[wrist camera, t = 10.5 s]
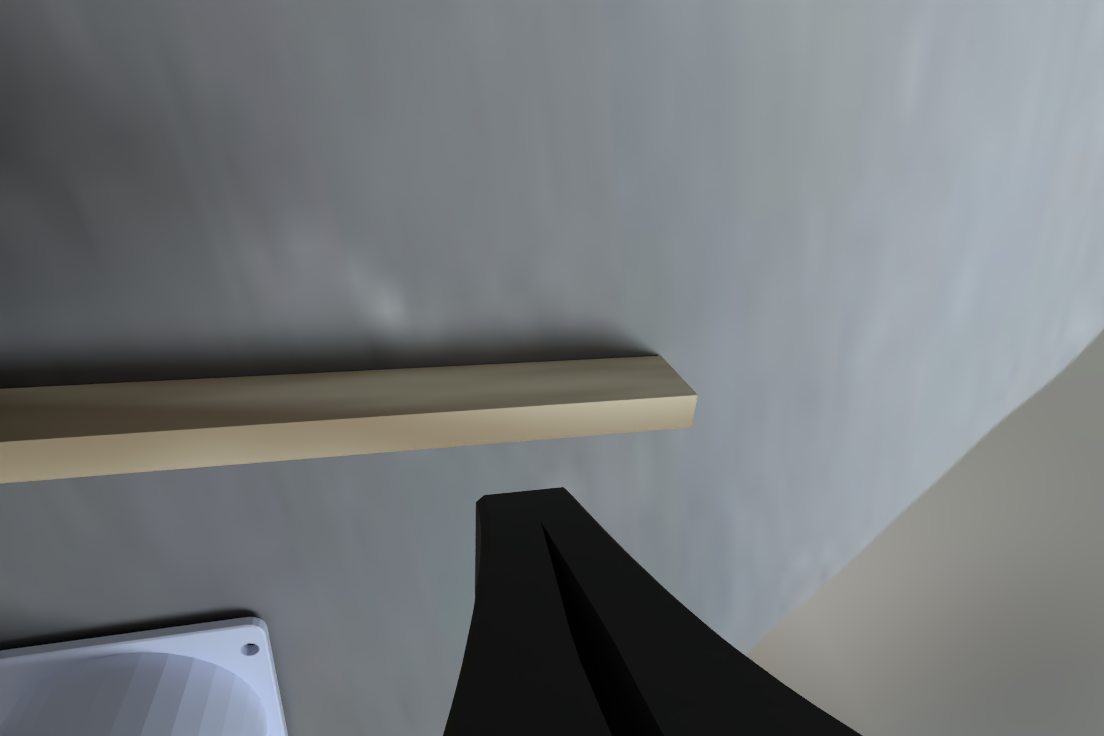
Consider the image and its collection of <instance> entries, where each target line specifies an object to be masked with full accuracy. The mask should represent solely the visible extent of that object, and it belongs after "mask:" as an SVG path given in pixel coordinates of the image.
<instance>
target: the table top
mask: <svg viewBox="0 0 1104 736" xmlns="http://www.w3.org/2000/svg"><path fill="white" fill-rule="evenodd" d="M697 396H698V395H697V394H696V393H695V392H694V391H693V390H692V388H691V387H690V386H689V385H688V384H687V383H686V382H685V381H684V380H683V379H682V378H681V377H680V376H679V375H678V374H677V372H676V371H675V370H674V369H673V368H672V367H671V366H670V365H669V364H668V363H667V362H666V361H665V360H664V359H663V358H662V356H646V357H626V358H606V359H586V360H566V361H546V362H526V363H506V364H486V365H466V366H446V367H426V368H406V369H386V370H366V371H345V372H325V373H305V374H285V375H265V376H245V377H225V378H205V379H185V380H165V381H145V382H125V383H105V384H85V385H65V386H45V387H25V388H5V389H0V483H11V482H24V481H36V480H48V479H61V478H73V477H85V476H98V475H110V474H123V473H135V472H147V471H160V470H172V469H184V468H197V467H209V466H221V465H234V464H246V463H258V462H271V461H283V460H295V459H308V458H320V457H332V456H345V455H357V454H369V453H382V452H394V451H406V450H419V449H431V448H443V447H456V446H468V445H480V444H493V443H505V442H517V441H530V440H542V439H554V438H567V437H579V436H591V435H604V434H616V433H628V432H641V431H653V430H666V429H678V428H690V427H692V423H693V418H694V412H695V407H696V402H697Z"/></svg>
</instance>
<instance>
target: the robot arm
mask: <svg viewBox="0 0 1104 736" xmlns="http://www.w3.org/2000/svg"><path fill="white" fill-rule="evenodd" d="M248 643H250V644H256V645H247V644H248ZM0 736H288V733H287V728H286V723H285V717H284V712H283V707H282V702H281V696H280V691H279V686H278V681H277V675H276V670H275V665H274V660H273V655H272V649H271V644H270V639H269V634H268V628H267V625H266V623H265V622H264V621H263V620H261V619H259V618H256V617H244V618H236V619H229V620H222V621H214V622H207V623H200V624H192V625H185V626H178V627H170V628H163V629H155V630H148V631H141V632H133V633H126V634H119V635H111V636H104V637H97V638H89V639H82V640H75V641H67V642H60V643H52V644H45V645H38V646H30V647H23V648H16V649H8V650H1V651H0ZM443 736H862V735H860V734H859V733H857V732H856V731H854V730H853V729H851V728H849V727H848V726H846V725H845V724H843V723H842V722H840V721H839V720H837V719H835V718H834V717H832V716H831V715H829V714H827V713H826V712H824V711H823V710H821V709H820V708H818V707H817V706H815V705H814V704H812V703H811V702H809V701H808V700H806V699H805V698H803V697H802V696H800V695H799V694H797V693H796V692H795V691H793V690H792V689H790V688H789V687H787V686H785V685H784V684H783V683H782V682H780V681H779V680H777V679H776V678H775V677H773V676H772V675H771V674H769V673H768V672H767V671H765V670H764V669H763V668H761V667H760V666H759V665H757V664H756V663H754V662H753V661H752V660H750V659H749V658H748V657H746V656H745V655H744V654H742V653H741V652H740V651H738V650H737V649H736V648H734V647H733V646H732V645H730V644H729V643H728V642H727V641H725V640H724V639H723V638H722V637H720V636H719V635H718V634H717V633H716V632H714V631H713V630H712V629H711V628H709V627H708V626H707V625H706V624H705V623H704V622H702V621H701V620H700V619H699V618H698V617H697V616H695V615H694V614H693V613H692V612H691V611H690V610H688V609H687V608H686V607H685V606H684V605H683V604H681V603H680V602H679V601H678V600H677V599H676V598H675V597H674V596H673V595H671V594H670V593H669V592H668V591H667V590H666V589H665V588H664V587H663V586H662V585H660V584H659V583H658V582H657V581H656V580H655V579H654V578H653V577H652V576H651V575H650V574H649V573H648V572H647V571H646V570H645V569H644V568H643V567H642V566H640V565H639V564H638V563H637V562H636V561H635V560H634V559H633V558H632V557H631V556H630V555H629V554H628V553H627V552H626V551H625V550H624V549H623V548H622V547H621V546H620V545H619V544H618V543H617V542H616V541H615V540H614V539H613V538H612V537H611V536H610V535H609V534H608V533H607V532H606V531H605V530H604V529H603V528H602V527H601V526H600V524H599V523H598V522H597V521H596V520H595V519H594V518H593V517H592V516H591V515H590V514H589V513H588V512H587V511H586V510H585V509H584V508H583V507H582V506H581V504H580V503H579V502H578V501H577V500H576V499H575V498H574V497H573V496H572V495H571V494H570V493H569V492H568V491H567V490H566V489H565V488H564V487H561V488H551V489H541V490H532V491H522V492H512V493H502V494H492V495H484V496H483V497H481V498H480V499H479V500H478V501H477V502H476V557H475V604H474V610H473V615H472V620H471V625H470V630H469V634H468V639H467V644H466V649H465V653H464V658H463V663H462V667H461V671H460V675H459V679H458V683H457V687H456V691H455V695H454V699H453V702H452V706H451V710H450V713H449V717H448V720H447V724H446V727H445V731H444V734H443Z"/></svg>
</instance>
